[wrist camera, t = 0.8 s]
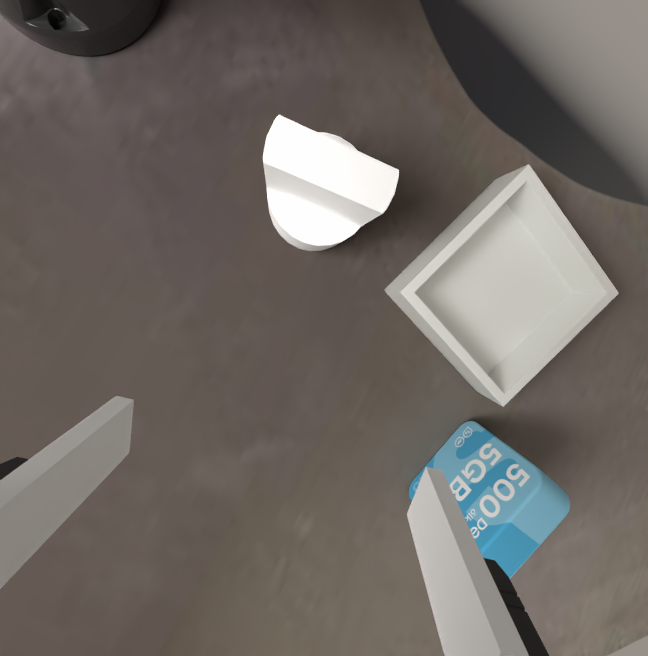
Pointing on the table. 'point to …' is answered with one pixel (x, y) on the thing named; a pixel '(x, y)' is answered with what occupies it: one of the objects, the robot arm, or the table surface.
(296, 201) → the base with upright slab
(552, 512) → the data package
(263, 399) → the table surface
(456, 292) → the bin
